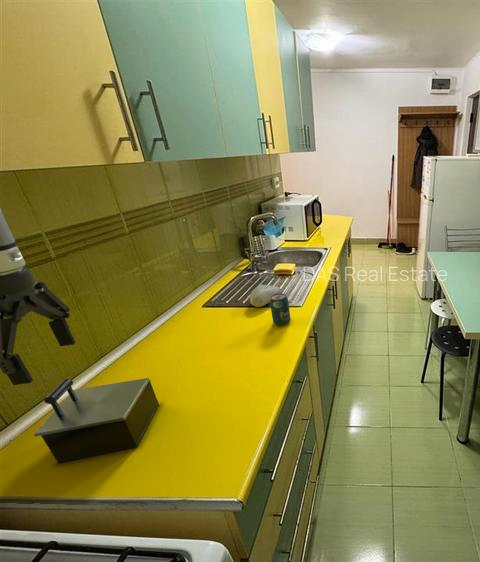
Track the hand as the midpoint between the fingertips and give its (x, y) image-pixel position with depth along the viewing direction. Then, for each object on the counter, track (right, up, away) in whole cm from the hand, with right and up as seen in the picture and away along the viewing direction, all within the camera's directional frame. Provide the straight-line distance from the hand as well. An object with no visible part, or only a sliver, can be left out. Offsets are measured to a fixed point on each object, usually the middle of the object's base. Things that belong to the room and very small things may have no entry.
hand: (47, 362), depth 66 cm
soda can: (+33, +1, +58) cm, 67 cm away
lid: (+5, -12, +6) cm, 15 cm away
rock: (+19, +8, +77) cm, 80 cm away
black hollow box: (+6, -20, +10) cm, 23 cm away
